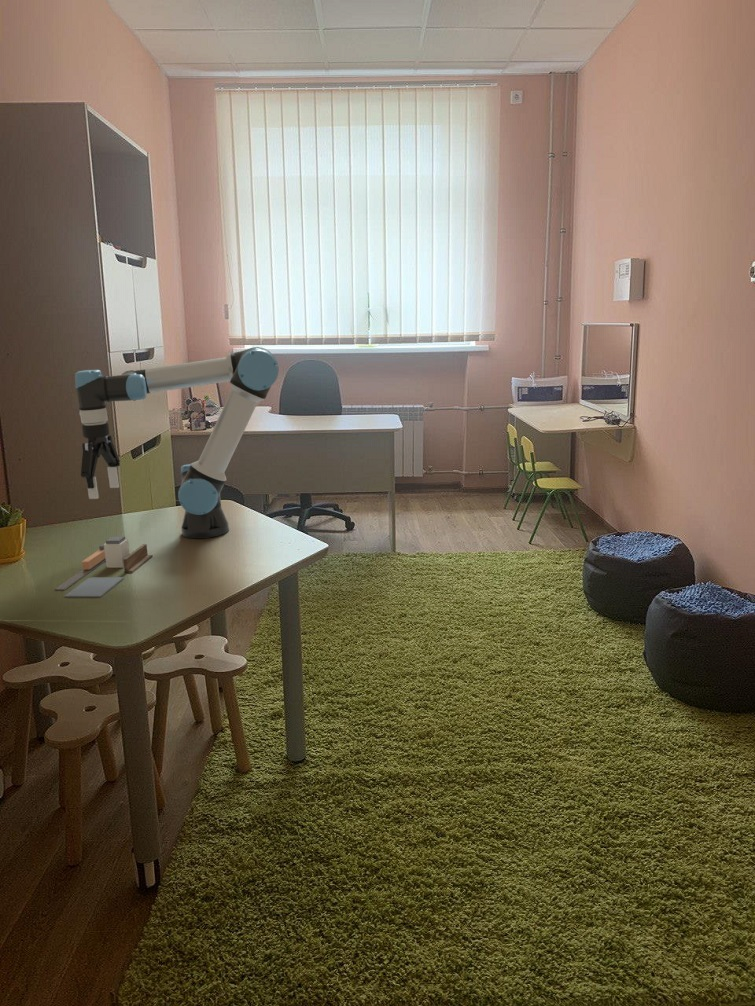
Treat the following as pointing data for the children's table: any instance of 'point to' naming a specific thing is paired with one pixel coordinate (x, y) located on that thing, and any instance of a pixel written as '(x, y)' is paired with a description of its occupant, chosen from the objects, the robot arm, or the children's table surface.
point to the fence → (136, 559)
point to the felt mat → (94, 587)
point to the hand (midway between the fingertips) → (104, 493)
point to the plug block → (116, 551)
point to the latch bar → (94, 559)
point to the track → (77, 577)
